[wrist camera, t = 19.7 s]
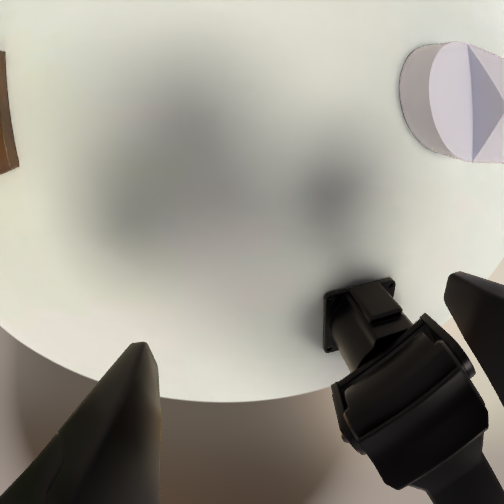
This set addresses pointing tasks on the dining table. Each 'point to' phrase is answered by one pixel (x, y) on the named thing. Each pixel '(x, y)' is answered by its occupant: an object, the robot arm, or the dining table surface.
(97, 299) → the dining table surface
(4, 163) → the wooden base
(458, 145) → the wedge on round base
